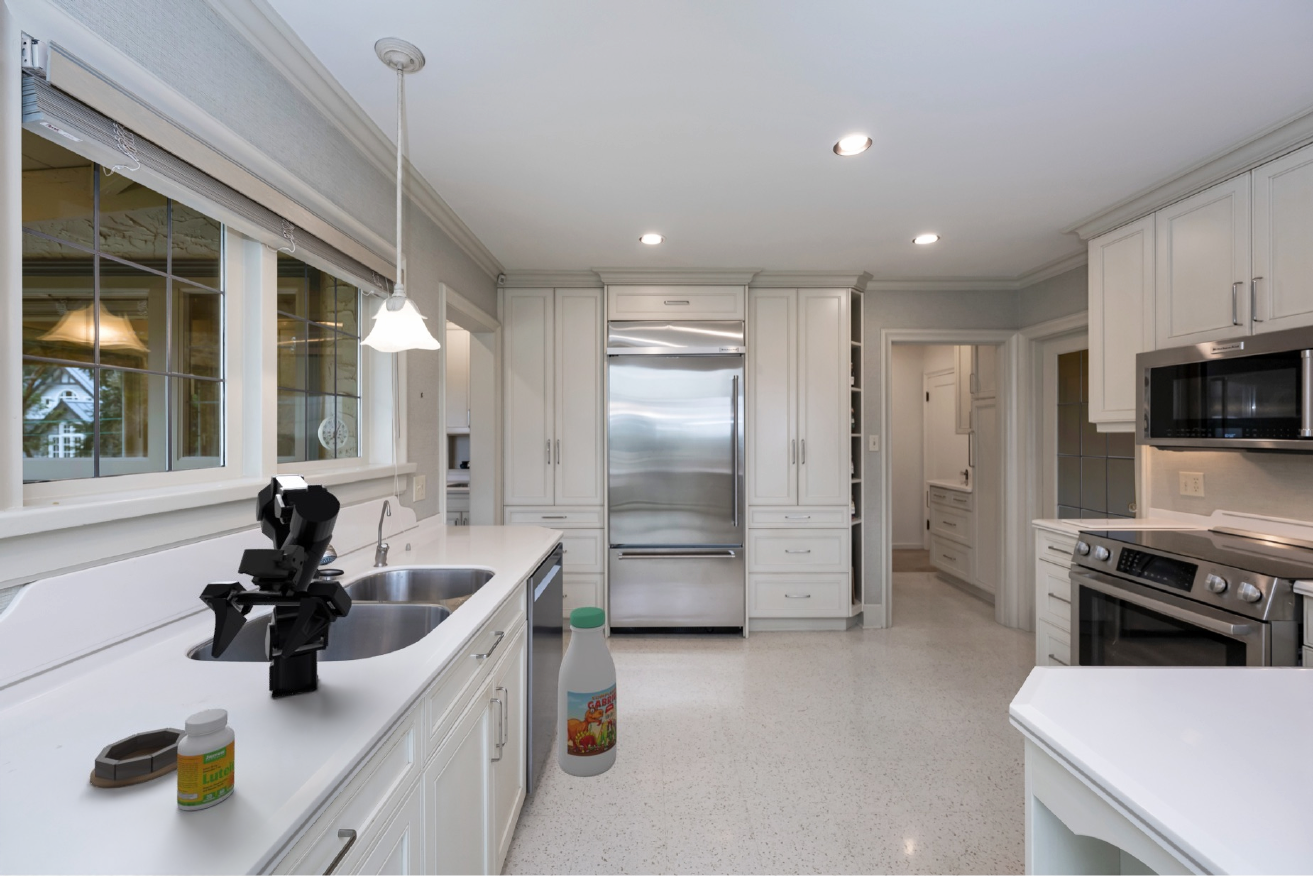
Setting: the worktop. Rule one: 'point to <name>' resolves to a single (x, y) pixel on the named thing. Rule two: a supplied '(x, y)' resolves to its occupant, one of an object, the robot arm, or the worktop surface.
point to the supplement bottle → (205, 761)
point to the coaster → (137, 758)
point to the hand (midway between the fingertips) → (248, 657)
